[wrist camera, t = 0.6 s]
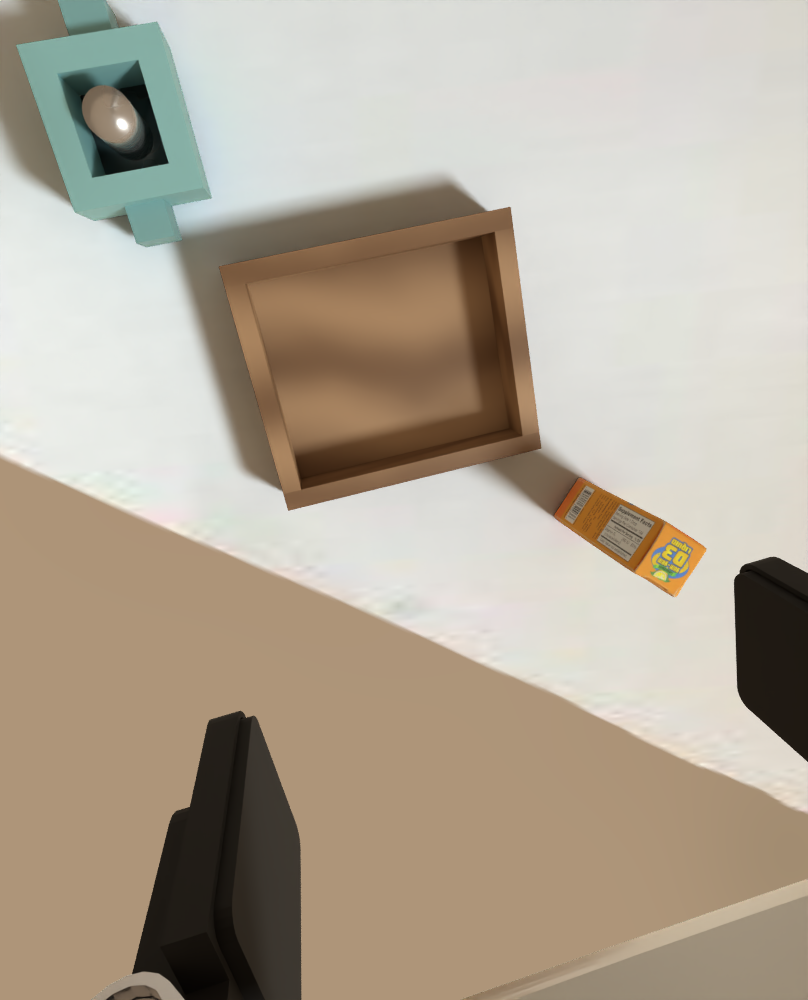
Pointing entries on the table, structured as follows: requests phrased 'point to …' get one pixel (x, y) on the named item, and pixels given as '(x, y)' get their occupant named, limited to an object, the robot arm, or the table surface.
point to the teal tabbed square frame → (57, 88)
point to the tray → (388, 355)
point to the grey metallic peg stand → (123, 128)
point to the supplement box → (631, 536)
